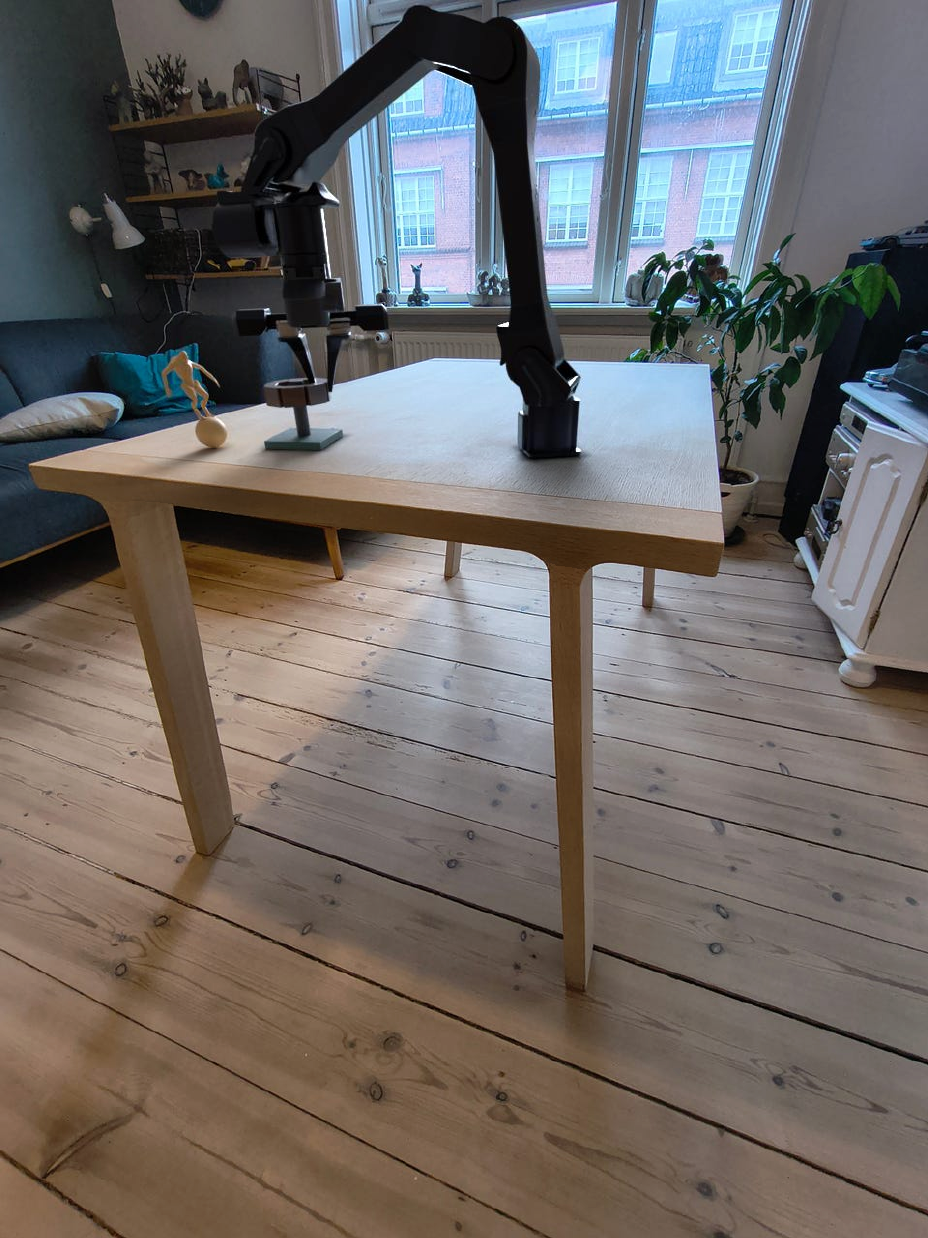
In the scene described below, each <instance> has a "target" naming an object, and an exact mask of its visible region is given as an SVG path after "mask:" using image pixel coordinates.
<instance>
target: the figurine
mask: <svg viewBox="0 0 928 1238" xmlns="http://www.w3.org/2000/svg"><path fill="white" fill-rule="evenodd" d="M194 368H195V369H197V370H200V371H201V372H202V373H203V374H205V376H206V377H208V378H209V379H210V380H212V381H213V382H214V383H215V384H216V385H217V387H218V388H221V386H220V384H219V382H218V380H217V379H216V378H215V377H214V376H213V375H212V374H211V373H210V372H209V371H207V370H206V369H205V368H204V367H203V366H202V365H200V364H199V363H197V362H193V361H191V360H190V359H189V356H188V354H187V352H186V351H185V350H181V351H180V352H179V353H178V354H176V355H174V356H172V357H171V359H170V362H169V363H168V364H167V366H166V367H165V368H164V369H163V370H162V371H161V378H162V381H163V385H164V391H165V393H166V396H167V397H173V390H172V389H170V388H169V382H168V377H167V375H168V374H170V373H171V372H172V371H174V372H175V373H176V375H177V376H178V377H179V379H181V384H180V388H181V390H182V391H184V393H185V394H186V396H187V397H188V398H190V399H191V400H192V401H191V402H190V406H191V408H192V410H193V412H194V413H195V415H196V416H197V417H198V422H196V425H195V427H194V428H195V429H194V430H195V431H194V432H195V436H196V438H197V440H198V441H199V442H200V443H201V444H202V445H203V446H205V447H208V448H218V447H221V446H222V445H224V444H225V442H226V440H227V439H228V429H227V426H226V425H225V423H224V422H223V421H222V420H220V419H219V418H218V417H215V415H214V414H212V413H210V412H209V410H208V409H207V407H206V405H207V404H208V400H209V392H207V391H206V390H205V389H204V388H203V387H202V385H201V383H200V382H199V380H198V379H195V380H194V377H193V376H194V374H193V371H194ZM198 395H199V396H201V397H202V398H203V399H201V401H200V405H201V409H202V411H203V413H204V414H205V415H206V416H204V415H202V413H201V412H200V411H199V409H198V408H197V406H198Z"/></svg>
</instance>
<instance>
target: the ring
mask: <svg viewBox="0 0 928 1238" xmlns="http://www.w3.org/2000/svg"><path fill="white" fill-rule="evenodd" d="M290 380H303V385H297V386H289V381H290ZM262 390H263V394H264V400H265V404H266V406H267V407H271V408H279V409H282V408H283V409H291V408H292V409H293V407H306V406H307V407H313V406H318V405H322V404H326V403H330V401H331V400H332V394H331V393H332V392H329V388H328V381H327V378H322V377H316V382H315V383H311V384H310V383H309V381H308V379H307V377H299V378H298V377H297V378H289V379H288V378H285V379H280V380H275V381H269V382H266V383H265V384H264V385H262Z"/></svg>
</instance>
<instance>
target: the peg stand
mask: <svg viewBox="0 0 928 1238" xmlns="http://www.w3.org/2000/svg"><path fill="white" fill-rule="evenodd" d="M297 385H303V380H290V381H289V386H297ZM292 410H293V415H294V422H295V427H290V428H288V429H285V430H283V431H282V432H280V433H278V434H276V435H274V436H271V437H270V438H268V439H266V440H264V441H263V445H264V448H265V450H266V449H267V450H300V451H302V450H303V451H304V450H305V451H322V450H324V449H325V448H327V447H328V446H329V445H331V444H332V443H334V442H336V441H338V440H339V439H341V438H342V437H344V430H343V428H314V427H313V428H312V427H311V425H310V418H309V413H308V412H309V411H308V406H306V407H293V408H292Z"/></svg>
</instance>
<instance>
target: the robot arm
mask: <svg viewBox="0 0 928 1238" xmlns="http://www.w3.org/2000/svg"><path fill="white" fill-rule="evenodd" d="M434 71H435V72H438V73H440V74H443V75H446V76H447V77H450V78H452V79H454V80H457V81H458V82H461V83H463V84H465V85H468V86H470V87H472V90H473V94H474V97H475V102H476V105H477V109H478V113H479V115H480V118H481V120H482V123H483V126H484V129H485V132H486V135H487V137H488V141H489V143H490V147H491V149H492V157H493V163H494V164H493V165H494V172H495V173H494V174H495V180H496V189H497V197H498V206H499V215H500V222H501V231H502V232H501V233H502V240H503V248H504V257H505V265H506V274H507V282H508V291H509V301H510V307H509V314H508V320H507V321H508V322H505V323H503V324H499V325H497V326H495V331H496V335H497V340H498V344H499V347H500V359H499V366H500V367H501V366H504V365H505V370H506V375H507V376H508V378H509V380H510V381H511V382H512V383H514V384H515V385H516V386H517V387H518V388H519V390H520V393H521V396H522V410H521V411H518V413H517V447H518V448H519V449H520V450H521V451H522V452H523V453H524V455H526V457H527V458H529V459H540V458H553V457H569V456H580V455H582V450H581V449H580V448H579V447H577V446H578V434H579V433H578V432H579V417H580V403H581V400H580V399H579V398H578V397H575V396H574V394H576V391H577V390H578V387H579V384H580V383H581V379H582V377H581V375H580V374H579V373H578V372H577V370H576V369H575V368H574V367H573V366H572V365H571V364H570V363H569V361H568V360H567V359H566V358H565V349H564V346H563V342H562V337H561V334H560V330H559V326H558V323H557V320H556V316H555V314H554V311H553V308H552V306H551V303H550V299H549V296H548V287H547V277H546V266H545V265H546V263H545V255H544V254H545V252H544V242H543V233H542V221H541V220H542V219H541V212H540V211H541V210H540V209H541V208H540V200H539V188H538V179H537V176H538V175H537V167H536V156H535V138H536V132H537V124H538V118H539V112H540V91H541V89H540V88H541V64H540V59H539V55H538V54H537V52H536V49H535V48H534V46H533V44H532V43H531V41H530V40H529V38H528V37H527V35H526V33H525V32H524V30H523V29H522V27H521V26H520V25H519V24H518V23H517V22H516V21H515V20H514V19H513V18H510V17H508V16H507V17H506V16H503V15H502V16H494V17H492V18H490V19H489V20H487V21H485V22H483V21H480V20H477V19H474V18H471V17H469V16H466V15H462V14H457V13H451V12H446V11H438V10H436V9H434V8H431V7H430V6H428V5H426V4H425V3H416V4H413V5H412V6H410V7H408V8H407V10H406V11H405V12H404V14H403V16H402V18H401V19H400V20H399V21H398V22H397V23H396V24H395V25H394V26H393V27H392V28H390V29H389V30H388V31H387V32H386V33H385V34H384V35H382V37H381V38H379V39H377V41H376V42H375V43H373V44H372V45H371V46H370V47H369V48H368V49H367V50H365V51H364V52H363V53H362V54H361V55H360V56H359V57H358V58H356V60H354V61H353V62H352V63H351V64H350V65H349V66H348V67H346V68H345V69H344V70H343V71H342V72H341V73H340V74H339V75H337V76H336V78H334V79H333V80H332V81H331V82H330V83H329V84H327V86H324V88H323V89H322V90H321V91H319V92H318V93H317V94H316V95H314V96H312V97H310V98H309V99H306V100H303V101H299V102H296V103H293V104H289V105H285V106H284V107H282V108H280V109H279V110H276V111H275V112H273V113H271V114H269V115H267V116H266V117H264V118H263V119H262V120H260V121H259V123H258V124H257V126H256V127H255V130H254V132H253V136H254V144H253V145H254V146H253V147H254V148H253V151H252V154H251V156H250V160H249V163H248V166H247V169H246V172H245V175H244V177H243V181H242V184H241V186H240V190H239V191H232V190H231V191H230V190H217V191H216V198H217V204H216V205H215V207H214V209H213V212H212V222H211V232H212V235H213V238H214V240H215V244H216V245H217V247H218V248H219V250H220V251H221V253H222V254H223V255H224V256H225V257H227V258H229V259H248V258H267V257H268V258H270V257H274V256H276V254H277V253H279V260H280V266H281V272H282V279H283V284H282V291H281V294H282V301H283V306H284V312H283V313H282V312H281V313H279V312H278V313H272V312H271V309H270V308H269V307H264V308H263V307H262V308H260V307H259V308H241V309H236V310H235V311H234V313H233V314H232V318H231V319H232V325H233V331H234V335H235V337H253V336H254V337H257V336H262V335H263V334H264V333H268V332H269V331H270V330H276V332H277V333H278V337H277V342H278V343H285V344H287V346H288V347H289V348H290V349H291V351H292V352H293V354H294V355H295V357H296V359H297V361H298V362H299V364H300V366H301V368H302V370H303V372H304V375H305V378H307V379H308V381H309V383H310V384H311V383H315V382H316V378H317V377H316V373H315V369H314V365H313V360H312V356H311V352H310V348H309V344H308V339H307V335H306V333H302V331H303V329H315V328H317V329H319V328H326V330H327V331H328V333H327V335H326V336H325V341H326V373H327V374H326V377H327V378H326V379H327V381H328V388H329V392H331V393H333V390H334V385H335V384H334V383H335V376H336V371H337V365H338V358H339V354H340V351H341V349H342V345H343V342H344V341H345V340H351V339H352V338H351V337H352V332H351V331H350V330H351V329H352V327H359V328H360V329H361V330H362V331H363V332H373V331H374V332H376V331H377V332H378V331H389V330H390V326H389V315H388V309H387V308H386V307H385V306H384V305H383V304H382V303H368V304H367V303H365V304H355V305H354V308H355V309H354V310H345V297H344V289H343V283H342V278H341V277H332V273H331V267H330V266H331V265H330V257H329V250H328V241H327V235H326V234H327V233H326V227H325V226H326V225H325V219H324V210H326V209H338V208H339V207H340V205H341V204H340V200H338V199H337V198H336V197H335V196H334V195H333V194H332V193H331V192H330V191H329V190H328V189H327V187H326V185H325V184H324V183H323V182H320V181H321V180H322V179H323V178H324V177H325V175H326V174H327V173H328V172H329V171H330V170H331V168H332V167H333V166H334V164H335V163H336V162H337V159H338V157H339V155H340V152H341V149H342V148H343V146H344V145H345V144H346V143H347V142H348V141H349V139H350V138H351V137H353V136H354V135H355V134H356V133H358V132H359V131H360V130H361V129H363V128H364V127H365V126H366V125H368V123H369V122H371V121H372V120H374V119H375V118H376V117H377V116H379V115H380V114H381V113H382V112H383V111H384V110H386V109H387V108H388V107H389V106H390V105H392V104H394V102H396V101H397V100H398V99H399V98H400V97H402V96H403V95H404V94H406V92H408V91H409V90H410V89H411V88H413V87H414V86H415V85H417V84H418V83H419V82H420V81H422V79H424V78H425V77H426V76H427V75H429V73H431V72H434ZM304 189H307V190H304ZM303 190H304V191H303Z"/></svg>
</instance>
